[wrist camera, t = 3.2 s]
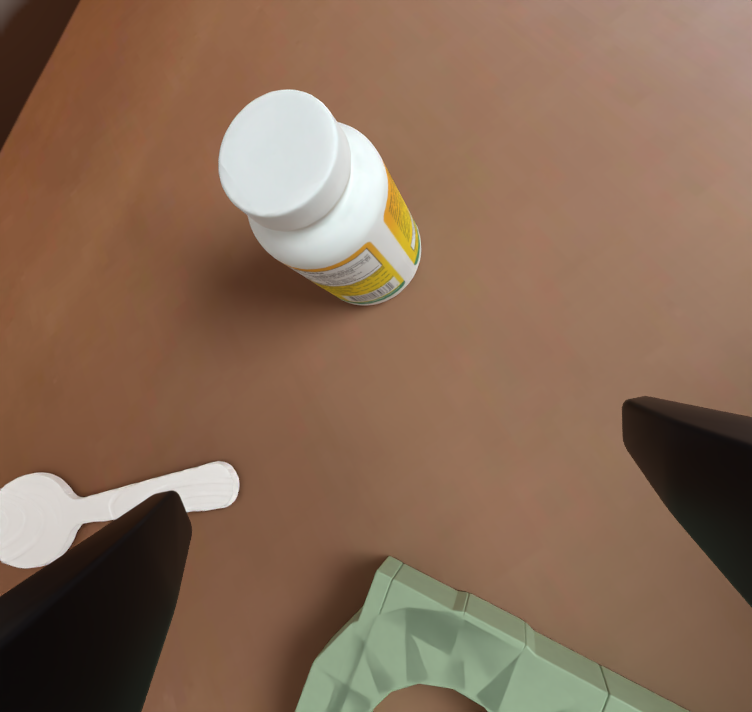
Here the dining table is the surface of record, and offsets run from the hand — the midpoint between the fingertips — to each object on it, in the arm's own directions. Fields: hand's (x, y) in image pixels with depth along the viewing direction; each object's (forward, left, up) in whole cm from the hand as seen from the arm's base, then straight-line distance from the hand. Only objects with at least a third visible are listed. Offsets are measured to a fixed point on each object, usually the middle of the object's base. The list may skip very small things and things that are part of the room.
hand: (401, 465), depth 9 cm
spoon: (+17, +12, -12) cm, 24 cm away
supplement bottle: (+7, -6, -12) cm, 16 cm away
